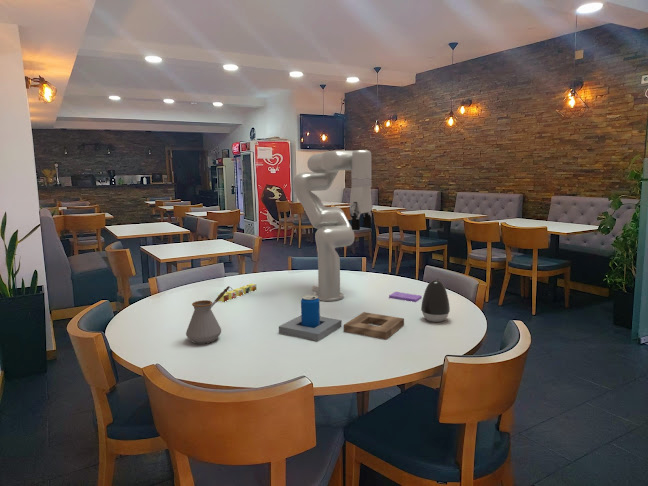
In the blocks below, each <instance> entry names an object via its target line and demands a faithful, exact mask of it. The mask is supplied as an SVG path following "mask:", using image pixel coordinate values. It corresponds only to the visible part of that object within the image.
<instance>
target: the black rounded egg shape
mask: <svg viewBox="0 0 648 486" xmlns="http://www.w3.org/2000/svg"><path fill="white" fill-rule="evenodd" d="M446 289H447V288H446V286H445V285H444V283H443V282H442V281H441V280H439V278H436V279H433V280H431V281H429V283H428V284H427V285H426V288H425V290H424V294H423V295H422V296H423V298H422V300H421V307H420V309H421V310H420V311H421V312H422V315H423V317H424V318H425V319H426V320H427V321H429V322H432V323H441V322H444V321H445V320H446V319H447V318H448V316H449V314H450V311H451V309H450V307H451V306H450V300H449V297H448V292H447V290H446Z"/></svg>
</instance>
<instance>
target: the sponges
mask: <svg viewBox="0 0 648 486" xmlns="http://www.w3.org/2000/svg"><path fill="white" fill-rule="evenodd" d="M422 296H423V295H420V294H412V293H405V292H400V291H394V292H392V293H391V294H389V297H388V299H393V300H400V301H405V300H406V302H411V301H412V303H417V302H418V301H419V300H421V299H423V298H422Z"/></svg>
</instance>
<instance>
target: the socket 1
mask: <svg viewBox="0 0 648 486" xmlns="http://www.w3.org/2000/svg"><path fill="white" fill-rule="evenodd" d="M342 322H343V321H342V320H341V319H337V318H332V317H325V316H321V315H320V325H319V326H317V327H315V328H311V327H305V326H302V321H301V315H298V316H297V317H294V318H293V319H290V320H288V321H287V322H285V323H282V324H281V325H279V326H278V334H281V335H285V336H290V337H295V338H299V339H306V340H308V341H309V340H310V341H315V342H320V341H321V340H323V339H324V338H326V337H327V336H329V335H331V334H332V333H334V332H335V331H337V330H339V329H340V328H342V324H343V323H342Z"/></svg>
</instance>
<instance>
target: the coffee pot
mask: <svg viewBox="0 0 648 486" xmlns="http://www.w3.org/2000/svg"><path fill="white" fill-rule="evenodd" d="M230 289H231V290H230ZM228 291H233V288H232V287H231V286H229V285H227V286H226V288H224V289H223V291H221V292H220V293H219V294H220V295H219V294H218V295H219V296H218V295H217V297H216V298H215V299H214V301H213V302H212V301H211V300H206V299H205V300H197V301H193V302H192V303H191V306H193V308H194V309H193V312H192V316H191V319H190V321H189V323H188V326H187V328H186V329H187V330H186V332H185V336H186V337H187V339H188V340H189V341H190V342H192V341H193V342H195V343H194V344H196V343H201V344H200V345H206V344H205V343H207V344H210V342H211V343H213V342H215V341H216V340H217V338H218V337H220V335H221V333H222V328H221V326H220V324H219V322H218V320H217V319H216V316H215V314H214V312H213V311H212V308H213V307H214V305H215V304H216V303H218V302H219V301H218V300H219V299H220V298H221V297H222V296H223V295H224V294H226V292H228ZM193 342H192V343H193Z"/></svg>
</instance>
